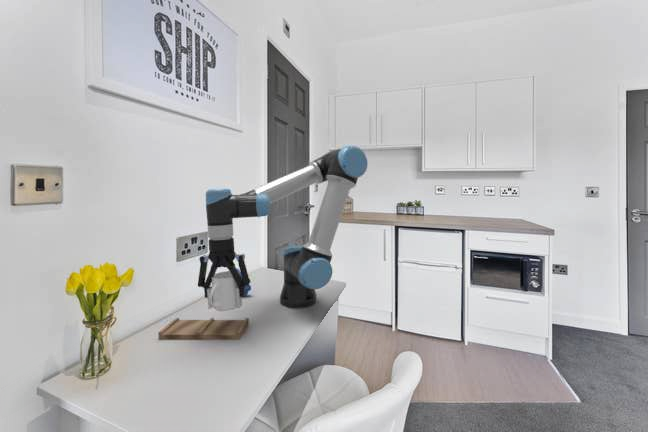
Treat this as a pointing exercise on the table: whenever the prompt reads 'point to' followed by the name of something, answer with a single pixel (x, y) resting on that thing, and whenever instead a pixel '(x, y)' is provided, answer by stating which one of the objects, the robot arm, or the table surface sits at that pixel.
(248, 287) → the grapes
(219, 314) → the table surface
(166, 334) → the ledge board
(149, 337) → the table surface
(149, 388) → the table surface
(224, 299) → the mug
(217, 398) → the table surface
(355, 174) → the robot arm
